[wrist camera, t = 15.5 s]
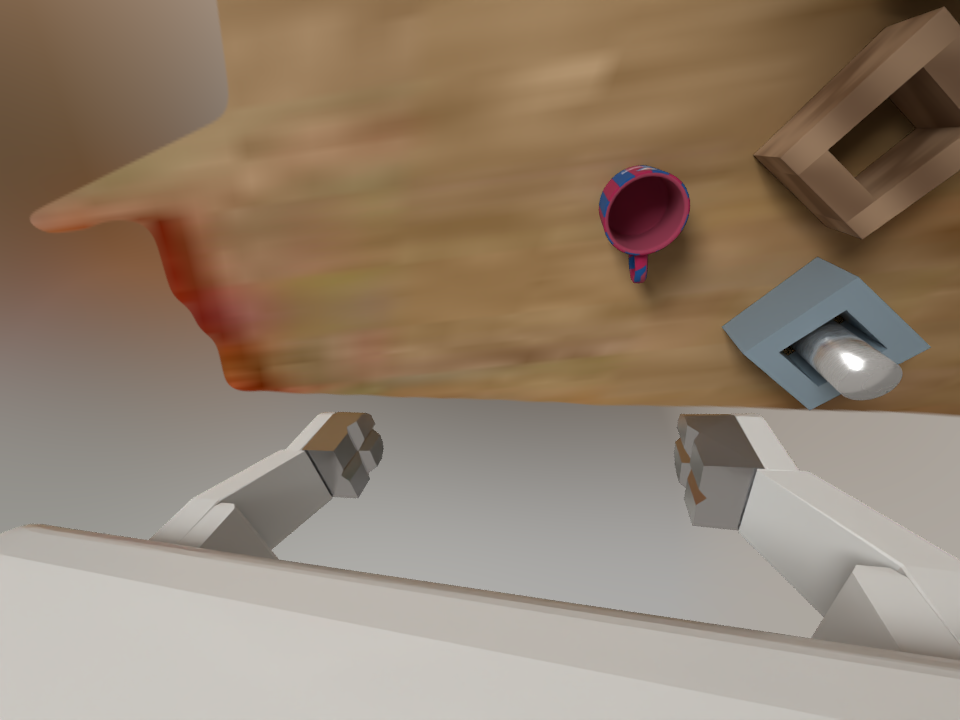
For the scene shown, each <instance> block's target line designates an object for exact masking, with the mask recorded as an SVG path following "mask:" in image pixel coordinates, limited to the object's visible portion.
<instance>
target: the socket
mask: <svg viewBox="0 0 960 720" xmlns="http://www.w3.org/2000/svg"><path fill="white" fill-rule="evenodd" d="M837 315H840V316H841V317H842V318H843V319H845V321H844V322H842V323H840V325H842V326H843V327H844V328H846V329H847V330H849V331H850V332H852V333H853V334H855V335H856V336H857V337H859V338H860V339H862V340H863V341H865V342H866V343H868V344H869V345H870V346H872V347H873V348H875V349H876V350H878V351H879V352H881V353H882V354H883V355H885V356H886V357H888V358H889V359H891V360H892V361H894V362H895V363H896V364H900V363H902V362H904V361H906V360H908V359H910V358H912V357H914V356H915V355H917V354H919V353H921V352H923V351H925V350H927V349H929V348H931V347H930V346H929V345H928V344H927V343H926V342H925V341H924V340H923V339H922V338H921V337H920V336H919V335H918V334H917V333H916V332H915V331H914V330H913V329H912V328H911V327H910V326H909V325H908V324H907V323H905V322H904V321H903V320H902V319H901V318H900V317H899V316H898V315H897V314H896V313H895V312H894V311H893V310H892V309H891V308H890V307H889V306H888V305H887V304H886V303H885V302H884V301H883V300H882V299H881V298H880V297H879V296H878V295H877V294H876V293H874V292H873V291H872V290H871V289H870V288H869V287H868V286H867V285H866V284H865V283H864V282H863V281H862V280H861V279H860V278H859V277H857V276H855V275H853V274H851V273H849V272H847V271H845V270H843V269H841V268H839V267H837V266H835V265H833V264H831V263H829V262H827V261H825V260H823V259H821V258H819V257H817V258H815V259H814V260H812V261H811V262H810V263H808V264H807V265H806V266H804V267H803V268H801V269H800V270H799V271H797V272H796V273H795V274H793V275H792V276H791V277H789V278H788V279H786V280H785V281H784V282H782V283H781V284H780V285H778V286H777V287H776V288H774V289H773V290H771V291H770V292H769V293H767V294H766V295H765V296H763V297H762V298H760V299H759V300H758V301H756V302H755V303H754V304H752V305H751V306H750V307H748V308H747V309H745V310H744V311H743V312H741V313H740V314H739V315H737V316H736V317H734V318H733V319H732V320H730V321H729V322H728V323H726V324H725V325H724V326H722V328H723V329H724V330H725V331H726V333H727V334H728V335H729V337H730V338H731V339H732V340H733V342H734V343H735V344H736V345H737V347H738V348H739V349H740V351H741V352H742V353H743V354H744V355H745V356H746V357H748V358H749V359H750V360H751V361H752V362H753V363H755V364H756V365H757V366H758V367H759V368H760V369H762V370H763V371H764V372H765V373H766V374H768V375H769V376H770V377H771V378H772V379H773V380H775V381H776V382H777V383H778V384H779V385H780V386H782V387H783V388H784V389H785V390H786V391H788V392H789V393H790V394H791V395H792V396H793V397H795V398H796V399H797V400H798V401H799V402H801V403H802V404H803V405H804V406H805V407H806V408H808V409H809V410H811V409H813V408H815V407H817V406H819V405H821V404H823V403H825V402H827V401H829V400H831V399H833V398H834V397H836V396H838V395H840V394H841V393H840V392H838V391H837V390H836V389H835V388H834V387H833V386H832V385H831V384H830V383H829V382H828V381H827V380H826V379H825V378H824V377H823V376H822V375H821V374H819V373H818V372H817V371H816V370H815V369H814V368H813V367H812V366H811V365H810V364H809V363H808V362H807V361H806V360H805V359H804V358H803V357H802V356H801V355H799V354H798V353H797V352H796V351H795V352H793V353H792V354H790V355H786V354H785V353H784V352H783V351H782V350H784V349H785V348H787V347H788V346H790V345H791V344H793V343H795V342H796V341H798V340H799V339H801V338H803V337H804V336H806V335H807V334H809V333H811V332H812V331H814V330H815V329H817V328H818V327H820V326H822V325H823V324H825V323H826V322H828V321H830V320H831V319H833V318H834V317H836V316H837Z"/></svg>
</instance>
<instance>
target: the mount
mask: <svg viewBox="0 0 960 720" xmlns="http://www.w3.org/2000/svg"><path fill="white" fill-rule="evenodd" d="M888 97H889V98H890V99H891V101H892V102H893V103H894V104H895V105H896V106H897V107H898V108H899V109H900V111H901V112H902V113H903V114H904V115H905V116H906V117H907V118H908V119H909V121H910V122H911V123H912V124H913V125H914V126H915V127H916V129H915V130H913V131H912V132H911V133H910V134H908V135H907V136H906V137H905V138H903V139H902V140H901V141H900V142H898V143H897V144H896V145H895V146H893V147H892V148H891V149H890V150H889V151H887V152H886V153H885V154H884V155H882V156H881V157H880V158H879V159H877V160H876V161H875V162H874V163H872V164H871V165H870V166H869V167H867V168H866V169H865V170H864V171H862V172H861V173H860V174H859V175H857V176H856V177H855V178H854V177H853V176H852V175H851V174H850V173H849V172H848V171H847V170H846V168H845V167H844V166H843V165H842V164H841V163H840V162H839V161H838V160H837V159H836V158H835V157H834V156H833V155H832V154H831V153H830V152H829V151H828V149H829V148H831V147H832V146H833V145H834V144H835V143H836V142H837V141H839V140H840V139H841V138H842V137H843V136H844V135H845V134H847V133H848V132H849V131H850V130H851V129H852V128H853V127H855V126H856V125H857V124H858V123H859V122H860V121H862V120H863V119H864V118H865V117H866V116H867V115H868V114H870V113H871V112H872V111H873V110H874V109H875V108H876V107H878V106H879V105H880V104H881V103H882V102H883V101H884V100H886V99H887V98H888ZM754 156H755V157H756V158H757V159H758V160H759V161H760V162H761V163H762V164H763V165H764V166H765V167H766V168H767V169H768V170H769V171H770V172H771V173H772V174H773V175H774V176H775V177H776V178H777V179H778V180H779V181H780V182H781V183H782V184H783V185H784V186H785V187H786V188H787V189H788V190H789V191H790V192H791V193H793V194H794V195H795V196H796V197H797V198H798V199H799V200H800V201H801V202H802V203H803V204H804V205H805V206H806V207H807V208H808V209H809V210H810V211H811V212H812V213H813V214H814V215H815V216H816V217H817V218H818V219H819V220H820V221H821V222H822V223H823V224H824V225H825V226H826V227H829V228H832V229H834V230H837V231H840V232H843V233H846V234H849V235H852V236H854V237H857V238H860V239H864V238H865V237H867V236H868V235H869V234H871V233H872V232H874V231H875V230H876V229H878V228H879V227H881V226H882V225H883V224H885V223H886V222H888V221H889V220H890V219H892V218H893V217H895V216H896V215H897V214H899V213H900V212H902V211H903V210H905V209H906V208H907V207H909V206H910V205H912V204H913V203H914V202H916V201H917V200H919V199H920V198H921V197H923V196H924V195H926V194H927V193H928V192H930V191H931V190H933V189H934V188H935V187H937V186H938V185H940V184H941V183H943V182H944V181H945V180H947V179H948V178H950V177H951V176H952V175H954V174H955V173H957V172H958V171H959V170H960V25H959V24H958V22H957V21H956V20H955V19H954V18H953V16H952V15H951V14H950V13H949V11H948V10H947V9H946V8H945V7H941V8H939V9H936V10H933V11H930V12H927V13H925V14H922V15H919V16H916V17H913V18H910V19H908V20H905V21H902V22H899V23H896V24H894V25H891V26H888V27H885V28H884V29H883V30H882V31H881V32H880V33H879V34H878V35H877V36H876V37H875V38H874V39H873V40H872V41H871V42H870V43H869V44H868V45H867V46H866V47H865V48H864V49H863V50H862V51H861V52H860V53H858V54H857V55H856V56H855V57H854V58H853V59H852V60H851V61H850V62H849V63H848V64H847V65H846V66H845V67H844V68H843V69H842V70H841V71H840V72H839V73H838V74H837V75H836V76H835V77H834V78H833V79H832V80H830V81H829V82H828V83H827V84H826V85H825V86H824V87H823V88H822V89H821V90H820V91H819V92H818V93H817V94H816V95H815V96H814V97H813V98H812V99H811V100H810V101H809V102H808V103H807V104H806V105H805V106H804V107H802V108H801V109H800V110H799V111H798V112H797V113H796V114H795V115H794V116H793V117H792V118H791V119H790V120H789V121H788V122H787V123H786V124H785V125H784V126H783V127H782V128H781V129H780V130H779V131H778V132H777V133H776V134H774V135H773V136H772V137H771V138H770V139H769V140H768V141H767V142H766V143H765V144H764V145H763V146H762V147H761V148H760V149H759V150H758V151H757V152H756V153H755V154H754Z"/></svg>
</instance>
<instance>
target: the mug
mask: <svg viewBox="0 0 960 720" xmlns="http://www.w3.org/2000/svg"><path fill="white" fill-rule="evenodd" d="M689 211H690V199H689V194H688V192H687V189H686V187H685V186H684V184H683V183H682V182H681V181H680V180H679V179H678V178H677V177H675V176H674V175H672V174H670V173H667V172H665V171H662V170H659V169H656V168H653V167H650V166H644V165H640V166H633V167H629V168H627V169H625V170H623V171H621V172H619V173H618V174H616V175H615V176H614V177H613V178H612V179H611V180H610V181H609V182H608V184H607V185H606V187H605V188H604V190H603V192H602V195H601V198H600V202H599V215H600V218H601V222H602V225H603V228H604V231H605V234H606V236H607V238H608V240H609V241H610V242H611V244H612V245H613V246H614V247H616V248H617V249H618V250H620V251H622V252H624V253H627V254H629V269H630V276H631V280H632V281H633V283H643V282H644V281H645V280H646V277H647V267H648V254H651V253H654V252H657V251H659V250H661V249H663V248H665V247H666V246H667V245H669V244H670V243H671V242H672V241H673V240H674V239H676V238H677V236H678V235H679V234H680V233H681V231H682V230H683V228H684V226H685V224H686V222H687V219H688V216H689Z"/></svg>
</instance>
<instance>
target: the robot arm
mask: <svg viewBox="0 0 960 720" xmlns="http://www.w3.org/2000/svg"><path fill="white" fill-rule="evenodd" d="M374 425H375V422H374V420H373V418H372V416H371V415H370V414H367V413H351V412H337V413H336V412H323V413H320V414H318V415H317V416H316V417H315V419H314V420H313V421H312V422H311V423H310V424H309V425H308V426H307V427H306V428H305V429H304V430H303V431H302V433H301V434H300V435H299V436H298V437H297V438H296V439H295V440H294V441H293V442H292V443H291V444H290V445H289V446H288V448H287V449H286V450H280V451H278V452H276V453H274V454H272V455H271V456H269V457H267V458H265V459H263V460H261V461H260V462H258V463H256V464H254V465H252V466H251V467H249V468H247V469H245V470H243V471H242V472H240V473H238V474H236V475H234V476H232V477H231V478H229V479H227V480H225V481H223V482H221V483H220V484H218V485H216V486H214V487H212V488H210V489H209V490H207V491H205V492H203V493H201V494H199V495H198V496H196V497H194V498H192V500H190V501H189V502H188V503H187V504H186V505H185V506H184V507H183V508H182V509H181V510H180V511H179V512H178V513H177V514H175V515H174V516H173V517H172V518H171V519H170V520H169V521H168V522H167V523H166V524H165V525H164V526H163V527H162V528H161V529H160V530H159V531H158V532H157V533H155V534H154V535H153V536H152V537H151V538H150V539H149V540H143V539H137V538H131V537H124V536H117V535H110V534H104V533H97V532H90V531H83V530H76V529H70V528H63V527H57V526H51V525H45V524H28V525H23V526H20V527H17V528H14V529H11V530H8V531H6V532H3V533H1V534H0V720H960V560H959V559H958V558H956V557H954V556H953V555H951V554H949V553H948V552H946V551H944V550H942V549H941V548H939V547H937V546H936V545H934V544H932V543H931V542H929V541H927V540H925V539H923V538H922V537H920V536H919V535H916V534H915V533H913V532H912V531H910V530H908V529H906V528H905V527H903V526H902V525H899V524H898V523H896V522H895V521H893V520H891V519H890V518H888V517H886V516H885V515H883V514H881V513H879V512H878V511H876V510H874V509H872V508H871V507H869V506H868V505H866V504H864V503H862V502H861V501H859V500H857V499H856V498H854V497H852V496H850V495H849V494H847V493H845V492H844V491H842V490H840V489H838V488H837V487H835V486H833V485H832V484H830V483H828V482H827V481H825V480H823V479H822V478H820V477H818V476H816V475H815V474H813V473H811V472H809V471H800V470H799V469H798V467H797V466H796V464H795V463H794V461H793V460H792V459H791V457H790V456H789V454H788V453H787V451H786V450H785V448H784V447H783V445H782V444H781V442H780V441H779V440H778V438H777V437H776V435H775V434H774V432H773V431H772V429H771V428H770V427H769V425H768V424H767V422H766V421H765V419H764V418H763V416H761V415H760V414H758V413H748V414H747V413H745V414H680V416H679V419H678V425H677V429H678V432H679V435H680V438H679V439H678V440H677V441H676V442H675V450H674V458H675V468H676V473H677V477H678V480H679V483H681V485H683V486H684V487H685V488H686V490H685V497H684V500H685V503H686V506H687V510H688V513H689V516H690V519H691V522H692V525H693V526H701V527H712V528H720V529H721V528H722V529H730V530H739V532H738V533H739V534H740V535H741V536H743V537H744V539H746V541H748V542H749V544H751V545H752V546H753V548H755V549H756V550H757V551H758V552H759V553H760V554H761V555H762V556H763V557H764V558H765V559H766V560H767V561H768V562H769V563H770V564H771V565H772V566H773V567H774V568H775V569H776V570H777V571H778V572H779V573H780V574H781V575H782V576H783V577H784V578H785V579H786V580H787V581H788V582H789V583H790V584H791V585H792V586H793V587H794V588H795V589H796V590H797V591H798V592H799V593H800V594H801V595H802V596H803V597H804V598H805V599H806V600H807V601H808V602H809V603H810V604H811V605H812V606H813V607H814V608H815V609H816V610H817V611H818V612H819V613H820V614H821V615H822V616H823V617H824V618H823V620H822V621H821V623H820V625H819V627H818V628H817V629H816V631H815V633H814V634H813V636H812V638H805V637H798V636H791V635H785V634H778V633H771V632H764V631H758V630H751V629H744V628H737V627H731V626H724V625H717V624H710V623H704V622H696V621H690V620H683V619H677V618H670V617H663V616H656V615H650V614H643V613H636V612H629V611H623V610H616V609H609V608H602V607H596V606H589V605H582V604H575V603H569V602H562V601H555V600H548V599H542V598H535V597H527V596H521V595H515V594H508V593H501V592H494V591H487V590H481V589H474V588H467V587H460V586H454V585H447V584H440V583H433V582H427V581H419V580H413V579H406V578H399V577H393V576H386V575H379V574H372V573H365V572H359V571H352V570H345V569H338V568H331V567H325V566H318V565H311V564H304V563H298V562H291V561H284V560H279V559H278V558H277V557H276V555H275V554H274V553H273V552H272V551H271V550H272V549H273V548H274V547H275V546H276V545H278V544H279V543H280V542H281V541H282V540H283V539H285V538H286V537H287V536H288V535H290V534H291V533H292V532H293V531H294V530H295V529H297V528H298V527H299V526H300V525H301V524H303V523H304V522H305V521H306V520H307V519H309V518H310V517H311V516H312V515H313V514H315V513H316V512H317V511H318V510H319V509H320V508H321V507H323V506H324V505H325V504H326V503H328V502H329V501H330V500H331V499H332V497H345V498H359V496H360V494H361V493H362V491H363V489H364V488H365V486H366V484H367V483H368V481H369V480H370V477H369V472H370V471H372V470H373V469H375V468H376V467H377V466H378V464H379V462H380V461H381V459H382V454H383V441H382V439H381V436H380V435H379V434H378V433H377V432H376V431H374V430H373V428H374Z"/></svg>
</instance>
